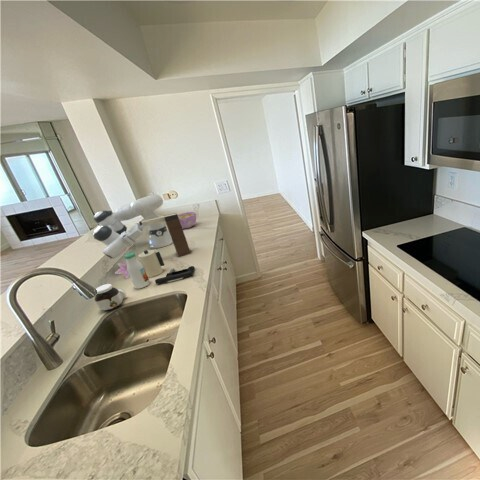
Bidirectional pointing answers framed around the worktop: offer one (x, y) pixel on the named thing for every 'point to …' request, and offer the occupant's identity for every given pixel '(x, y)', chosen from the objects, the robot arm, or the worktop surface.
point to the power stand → (177, 235)
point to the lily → (123, 269)
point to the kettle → (151, 262)
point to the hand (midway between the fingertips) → (145, 222)
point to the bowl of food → (187, 219)
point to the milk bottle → (136, 272)
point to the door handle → (176, 275)
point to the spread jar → (109, 297)
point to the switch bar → (155, 220)
